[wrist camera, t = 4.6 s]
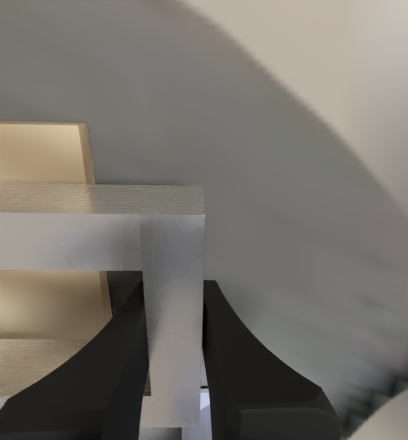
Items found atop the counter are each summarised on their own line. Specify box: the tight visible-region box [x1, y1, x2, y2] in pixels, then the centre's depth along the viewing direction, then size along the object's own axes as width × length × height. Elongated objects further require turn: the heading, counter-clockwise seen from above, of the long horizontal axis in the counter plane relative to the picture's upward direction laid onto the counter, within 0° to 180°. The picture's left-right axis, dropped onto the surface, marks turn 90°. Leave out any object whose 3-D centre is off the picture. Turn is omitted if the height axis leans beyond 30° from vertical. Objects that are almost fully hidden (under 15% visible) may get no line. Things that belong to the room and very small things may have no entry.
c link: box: [0, 183, 205, 428], centre depth 12 cm, size 10×12×3 cm
